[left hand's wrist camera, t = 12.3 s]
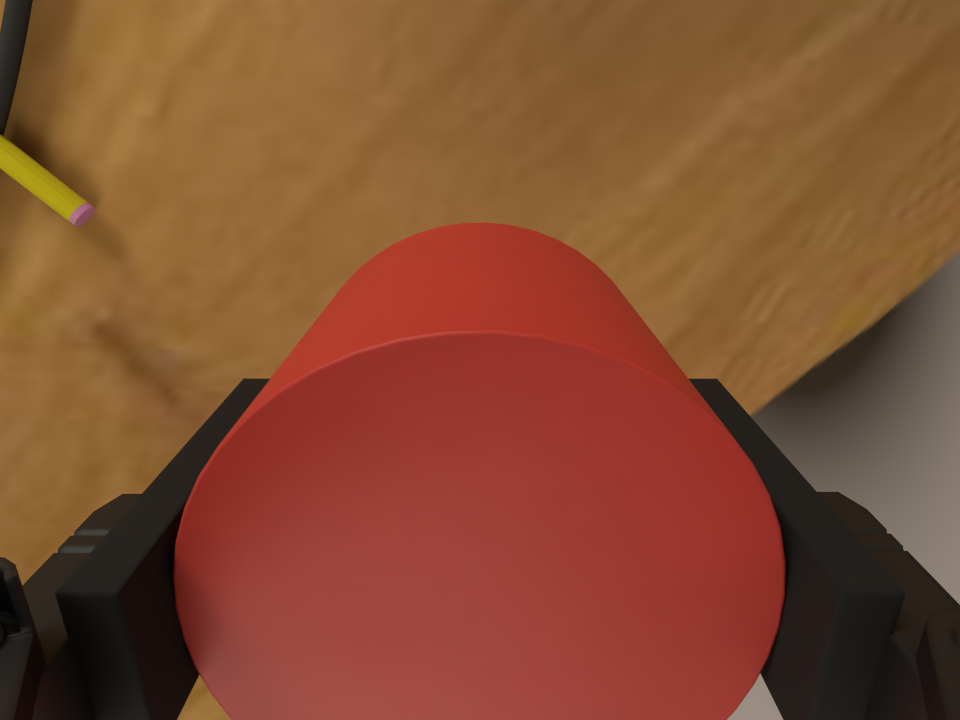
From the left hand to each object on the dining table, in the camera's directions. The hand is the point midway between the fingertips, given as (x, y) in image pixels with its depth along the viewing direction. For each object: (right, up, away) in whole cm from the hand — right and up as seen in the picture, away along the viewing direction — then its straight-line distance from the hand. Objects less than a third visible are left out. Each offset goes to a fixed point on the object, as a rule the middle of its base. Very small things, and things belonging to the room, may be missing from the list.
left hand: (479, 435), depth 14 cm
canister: (0, +1, +2) cm, 2 cm away
